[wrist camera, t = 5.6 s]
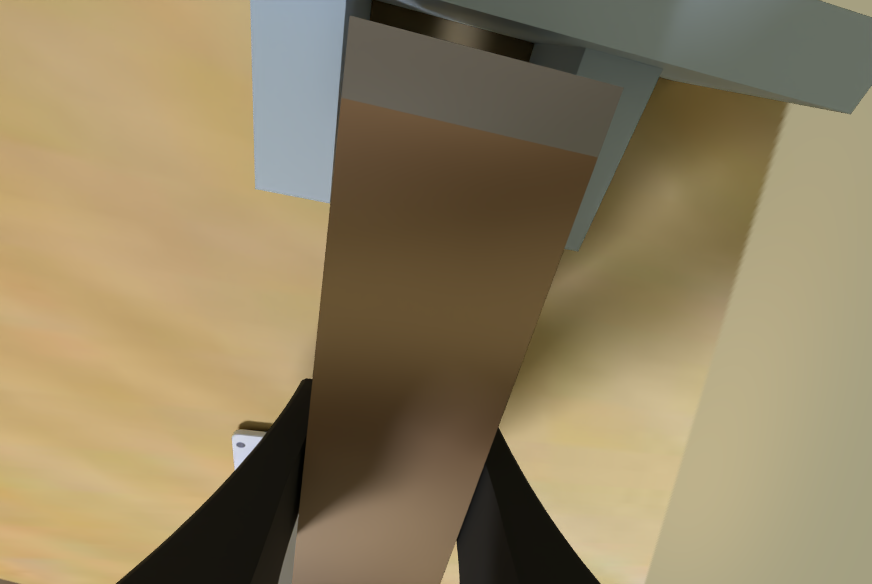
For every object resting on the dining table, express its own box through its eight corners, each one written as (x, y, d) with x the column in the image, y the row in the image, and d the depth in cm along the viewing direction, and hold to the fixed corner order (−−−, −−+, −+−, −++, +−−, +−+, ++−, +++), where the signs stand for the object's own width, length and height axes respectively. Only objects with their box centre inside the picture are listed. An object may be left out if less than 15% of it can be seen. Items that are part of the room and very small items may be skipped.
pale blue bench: (610, 210, 17) (711, 306, 11) (210, 126, 14) (68, 188, 9) (696, 31, 13) (912, 30, 7) (191, -118, 11) (-69, -287, 5)
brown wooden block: (424, 469, 16) (429, 612, 12) (324, 459, 16) (289, 604, 11) (530, 93, 10) (624, 87, 6) (377, 54, 10) (349, 14, 5)
